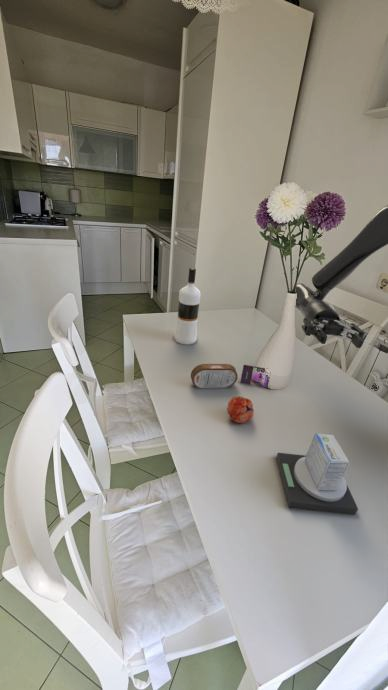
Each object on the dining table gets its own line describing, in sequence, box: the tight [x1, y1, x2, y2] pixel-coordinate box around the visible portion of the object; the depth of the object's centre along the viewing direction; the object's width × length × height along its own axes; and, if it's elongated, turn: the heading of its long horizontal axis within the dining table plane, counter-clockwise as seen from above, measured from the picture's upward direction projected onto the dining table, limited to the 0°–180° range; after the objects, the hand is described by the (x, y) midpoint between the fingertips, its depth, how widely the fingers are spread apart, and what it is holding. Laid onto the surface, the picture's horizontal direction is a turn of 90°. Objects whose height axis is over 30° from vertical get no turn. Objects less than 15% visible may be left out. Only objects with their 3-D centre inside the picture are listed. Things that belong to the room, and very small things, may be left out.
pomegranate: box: [226, 396, 255, 424], centre depth 85 cm, size 7×7×10 cm
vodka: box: [173, 267, 202, 345], centre depth 119 cm, size 9×9×30 cm
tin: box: [190, 363, 238, 389], centre depth 97 cm, size 15×3×8 cm, turn 100°
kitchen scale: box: [275, 452, 359, 516], centre depth 68 cm, size 14×13×4 cm
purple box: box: [240, 364, 270, 389], centre depth 102 cm, size 7×5×9 cm
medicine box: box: [305, 433, 350, 491], centre depth 65 cm, size 8×4×9 cm, turn 2°
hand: (342, 342), depth 72 cm, fingers open, 8 cm apart
